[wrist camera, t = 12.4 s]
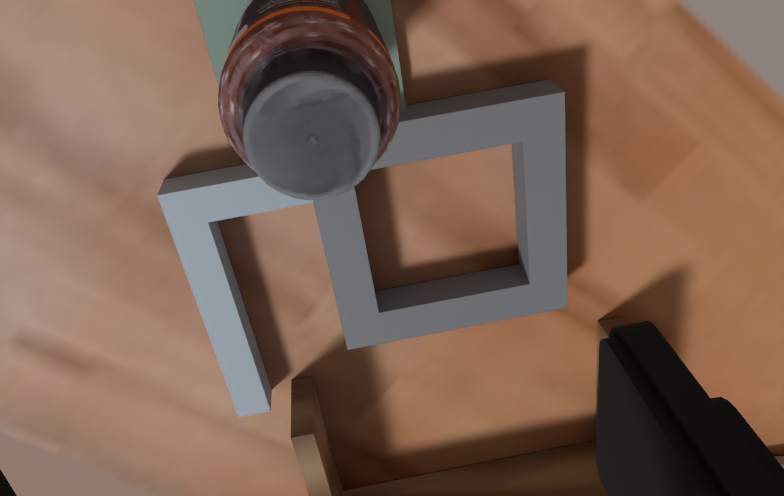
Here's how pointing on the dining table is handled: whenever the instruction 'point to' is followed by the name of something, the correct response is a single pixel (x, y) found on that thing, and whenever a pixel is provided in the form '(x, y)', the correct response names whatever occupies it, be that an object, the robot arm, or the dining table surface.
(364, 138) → the supplement bottle
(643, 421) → the robot arm
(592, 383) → the dining table surface
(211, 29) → the pad
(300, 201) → the crook tool
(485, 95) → the hole board
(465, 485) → the cubby
